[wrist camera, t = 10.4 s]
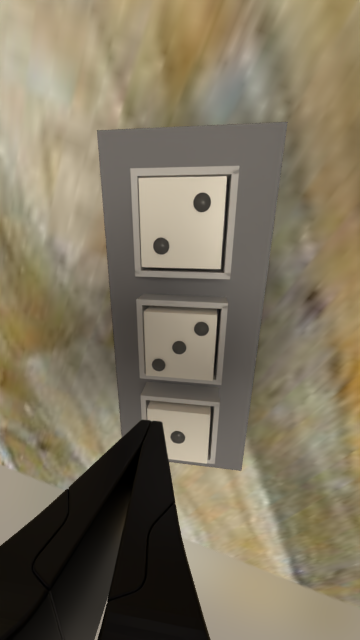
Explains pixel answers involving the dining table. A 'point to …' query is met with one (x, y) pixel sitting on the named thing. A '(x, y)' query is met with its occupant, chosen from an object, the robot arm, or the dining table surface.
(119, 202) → the button panel
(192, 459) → the tile one dot
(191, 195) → the tile two dots
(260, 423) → the dining table surface
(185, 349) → the tile three dots
